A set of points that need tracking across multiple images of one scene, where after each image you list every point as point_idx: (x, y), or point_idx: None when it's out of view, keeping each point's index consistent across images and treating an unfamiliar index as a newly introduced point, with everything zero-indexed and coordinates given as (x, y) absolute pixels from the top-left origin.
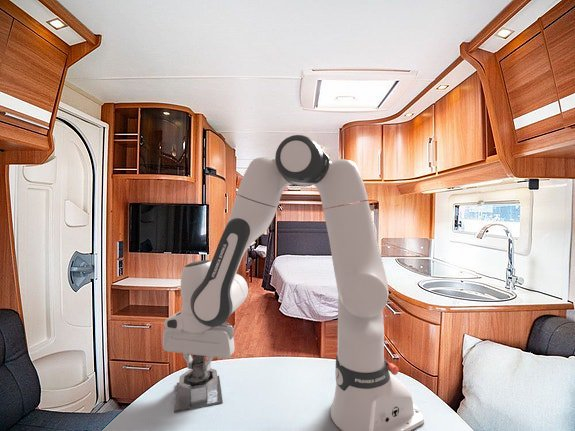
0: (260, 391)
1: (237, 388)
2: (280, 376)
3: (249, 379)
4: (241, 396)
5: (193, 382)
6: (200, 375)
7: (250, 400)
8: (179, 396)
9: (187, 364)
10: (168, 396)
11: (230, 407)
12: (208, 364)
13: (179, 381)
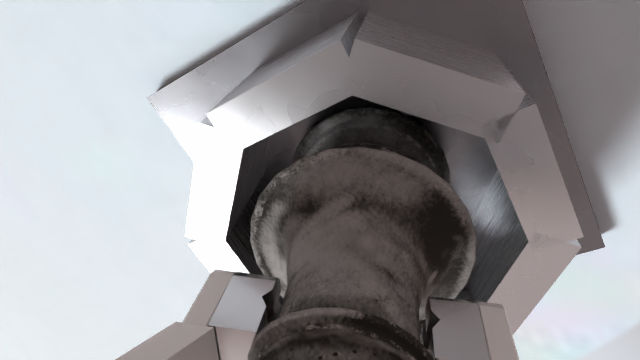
0: (21, 221)
1: (153, 234)
2: (12, 330)
3: (137, 306)
4: (87, 171)
5: (369, 154)
6: (307, 229)
7: (17, 144)
8: (497, 57)
9: (510, 348)
10: (625, 99)
11: (82, 60)
12: (171, 337)
13: (551, 158)
